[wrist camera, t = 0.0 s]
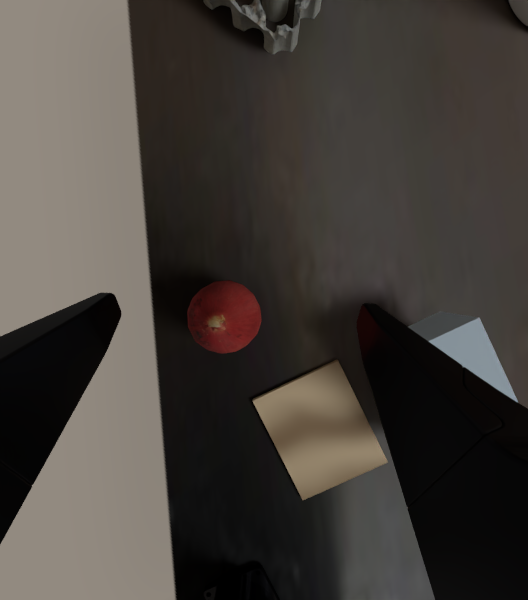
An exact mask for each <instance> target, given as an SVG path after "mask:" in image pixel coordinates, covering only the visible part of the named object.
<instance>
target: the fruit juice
mask: <svg viewBox="0 0 528 600" xmlns="http://www.w3.org/2000/svg"><path fill="white" fill-rule="evenodd" d="M508 1H509V4H510V6H511V8H512V10H513V12H514V13H515V15H516V16H517V17H518V19H519V20H520V21H521V22H522V23H524V24H525V25H526V26H527V27H528V0H508Z"/></svg>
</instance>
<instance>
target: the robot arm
mask: <svg viewBox="0 0 528 600" xmlns="http://www.w3.org/2000/svg"><path fill="white" fill-rule="evenodd" d="M120 318H121V310H120V307H119V305H118V302H117V300H116V297H115V295H114V294H112V293H99V294H97V295H94V296H92V297H90V298H87V299H85V300H83V301H81V302H78V303H76V304H74V305H71V306H69V307H67V308H65V309H62V310H60V311H58V312H56V313H53V314H51V315H49V316H46V317H44V318H42V319H40V320H37V321H35V322H33V323H30V324H28V325H26V326H24V327H21V328H19V329H17V330H14V331H12V332H10V333H8V334H5V335H3V336H1V337H0V544H1V542H2V540H3V538H4V537H5V535H6V533H7V531H8V529H9V527H10V526H11V524H12V522H13V520H14V518H15V517H16V515H17V513H18V511H19V509H20V508H21V506H22V504H23V502H24V500H25V499H26V497H27V495H28V493H29V491H30V490H31V487H32V485H33V484H34V482H35V480H36V478H37V476H38V474H39V473H40V471H41V469H42V467H43V466H44V464H45V462H46V460H47V458H48V457H49V455H50V453H51V451H52V449H53V448H54V446H55V444H56V442H57V440H58V438H59V437H60V435H61V433H62V431H63V429H64V427H65V425H66V424H67V422H68V420H69V418H70V417H71V415H72V413H73V411H74V410H75V408H76V406H77V404H78V402H79V401H80V398H81V397H82V395H83V393H84V391H85V390H86V388H87V386H88V384H89V382H90V381H91V379H92V377H93V375H94V373H95V372H96V370H97V368H98V366H99V364H100V363H101V361H102V359H103V357H104V355H105V353H106V351H107V349H108V347H109V344H110V342H111V340H112V337H113V335H114V332H115V330H116V327H117V325H118V323H119V320H120ZM357 332H358V337H359V343H360V349H361V354H362V360H363V364H364V368H365V371H366V375H367V378H368V381H369V384H370V388H371V391H372V394H373V398H374V401H375V404H376V407H377V411H378V414H379V417H380V420H381V424H382V427H383V430H384V433H385V437H386V440H387V443H388V446H389V450H390V453H391V456H392V459H393V463H394V466H395V469H396V472H397V476H398V479H399V482H400V485H401V489H402V492H403V495H404V498H405V502H406V505H407V507H408V512H409V515H410V519H411V522H412V525H413V528H414V532H415V535H416V538H417V541H418V545H419V548H420V551H421V554H422V558H423V561H424V564H425V567H426V571H427V574H428V577H429V581H430V584H431V587H432V590H433V594H434V597H435V600H528V409H527V408H526V407H524V406H522V405H521V404H519V403H518V402H516V401H515V400H513V399H511V398H510V397H508V396H507V395H505V394H504V393H502V392H501V391H499V390H497V389H496V388H494V387H493V386H491V385H490V384H489V383H487V382H486V381H484V380H483V379H481V378H480V377H478V376H477V375H475V374H474V373H473V372H471V371H470V370H468V369H467V368H466V367H463V366H462V365H461V364H460V363H458V362H457V361H456V360H454V359H453V358H451V357H450V356H448V355H447V354H446V353H444V352H443V351H441V350H440V349H439V348H437V347H436V346H434V345H433V344H431V343H430V342H429V341H427V340H426V339H424V338H423V337H422V336H420V335H419V334H417V333H416V332H414V331H413V330H412V329H410V328H409V327H407V326H406V325H405V324H403V323H402V322H400V321H399V320H397V319H396V318H395V317H393V316H392V315H390V314H389V313H388V312H386V311H385V310H383V309H382V308H380V307H379V306H378V305H376V304H370V303H364V304H363V305H362V306H361V309H360V313H359V316H358V319H357ZM204 597H205V599H206V600H280V599H279V597H278V595H277V593H276V591H275V590H274V588H273V586H272V584H271V582H270V580H269V578H268V576H267V574H266V572H265V570H264V568H263V567H262V565H260V564H256V565H253V566H251V567H249V568H247V569H244V570H242V571H240V572H237V573H235V574H233V575H231V576H228V577H226V578H224V579H221V580H219V581H217V582H215V583H212V584H210V585H208V586H206V587H205V590H204Z"/></svg>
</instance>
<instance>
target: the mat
mask: <svg viewBox="0 0 528 600" xmlns="http://www.w3.org/2000/svg"><path fill="white" fill-rule="evenodd" d="M253 403H254V405H255V407H256V409H257V411H258V413H259V415H260V417H261V419H262V421H263V423H264V425H265V427H266V429H267V431H268V433H269V435H270V437H271V439H272V441H273V442H274V444H275V446H276V448H277V450H278V452H279V454H280V456H281V458H282V460H283V462H284V464H285V466H286V468H287V470H288V472H289V474H290V476H291V478H292V480H293V482H294V484H295V486H296V488H297V490H298V492H299V494H300V496H301V498H302V500H305V499H307V498H309V497H311V496H314V495H316V494H318V493H320V492H323V491H325V490H327V489H329V488H332V487H334V486H336V485H338V484H341V483H343V482H345V481H347V480H350V479H352V478H354V477H356V476H358V475H361V474H363V473H365V472H367V471H370V470H372V469H374V468H376V467H379V466H381V465H383V464H385V463H388V461H387V459H386V457H385V455H384V453H383V451H382V449H381V447H380V445H379V443H378V441H377V439H376V437H375V435H374V433H373V431H372V429H371V427H370V425H369V423H368V421H367V418H366V416H365V414H364V412H363V410H362V408H361V406H360V404H359V402H358V400H357V398H356V396H355V394H354V392H353V390H352V388H351V386H350V384H349V382H348V380H347V378H346V375H345V373H344V371H343V369H342V367H341V365H340V363H339V361H338V360H337V359H336V360H334V361H332V362H330V363H328V364H326V365H324V366H322V367H320V368H317V369H315V370H313V371H311V372H309V373H307V374H305V375H303V376H301V377H298V378H296V379H294V380H292V381H290V382H288V383H286V384H284V385H282V386H279V387H277V388H275V389H273V390H271V391H269V392H267V393H265V394H263V395H260V396H258V397H256V398H254V399H253Z"/></svg>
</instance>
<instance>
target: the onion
mask: <svg viewBox="0 0 528 600" xmlns="http://www.w3.org/2000/svg"><path fill="white" fill-rule="evenodd" d="M187 316H188V328H189V330H190V332H191V334H192V336H193V338H194V340H195V341H196V342H197V343H198V344H200V345H201V346H203V347H204V348H206V349H207V350H210V351H214V352H217V353H229V352H236V351H238V350H240V349H241V348H243V347H245V346H247V345H248V344H249V343H250V341H251V340H252V339H253V338H254V337H255V336H256V335H257V333H258V330H259V327H260V324H261V312H260V306H259V304H258V302H257V300H256V298H255V296H254V295H253V294H252V293H251V292H250V291H249V290H248V289H247V288H246V287H245V286H244V285H241V284H238V283H236V282H233V281H230V280H228V281H217V282H213V283H211V284H210V285H208V286H206V287H204V288H202V289H201V290H200V291H199V292H198V293H197V294H196V295H195V296H194V297H193V298H192V300H191V303H190V306H189V308H188V311H187Z"/></svg>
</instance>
